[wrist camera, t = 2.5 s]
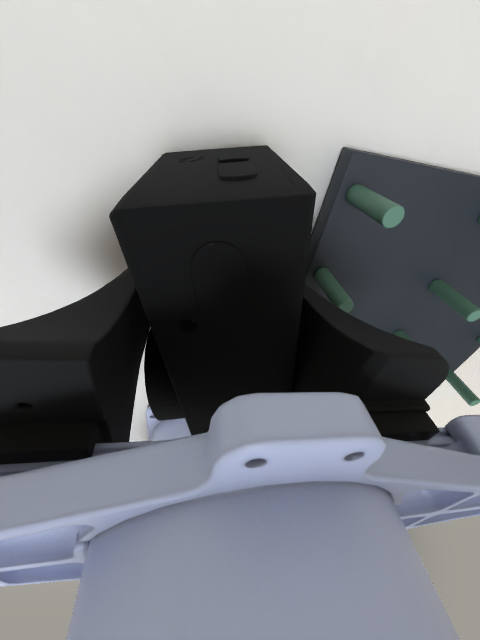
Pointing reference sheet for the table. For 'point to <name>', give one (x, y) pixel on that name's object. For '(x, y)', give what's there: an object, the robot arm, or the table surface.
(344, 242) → the rack
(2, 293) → the table surface
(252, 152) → the digital camera
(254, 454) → the robot arm
